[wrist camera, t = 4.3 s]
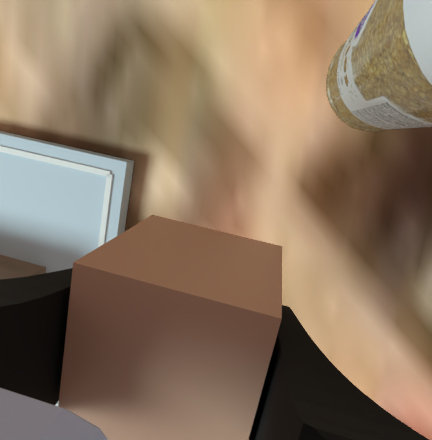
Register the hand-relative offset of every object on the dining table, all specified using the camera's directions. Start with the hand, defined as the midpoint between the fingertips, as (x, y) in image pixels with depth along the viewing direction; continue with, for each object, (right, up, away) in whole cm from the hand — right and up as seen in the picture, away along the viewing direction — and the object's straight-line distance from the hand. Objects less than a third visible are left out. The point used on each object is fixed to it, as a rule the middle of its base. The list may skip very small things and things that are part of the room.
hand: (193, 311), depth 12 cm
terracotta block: (0, 0, +1) cm, 2 cm away
